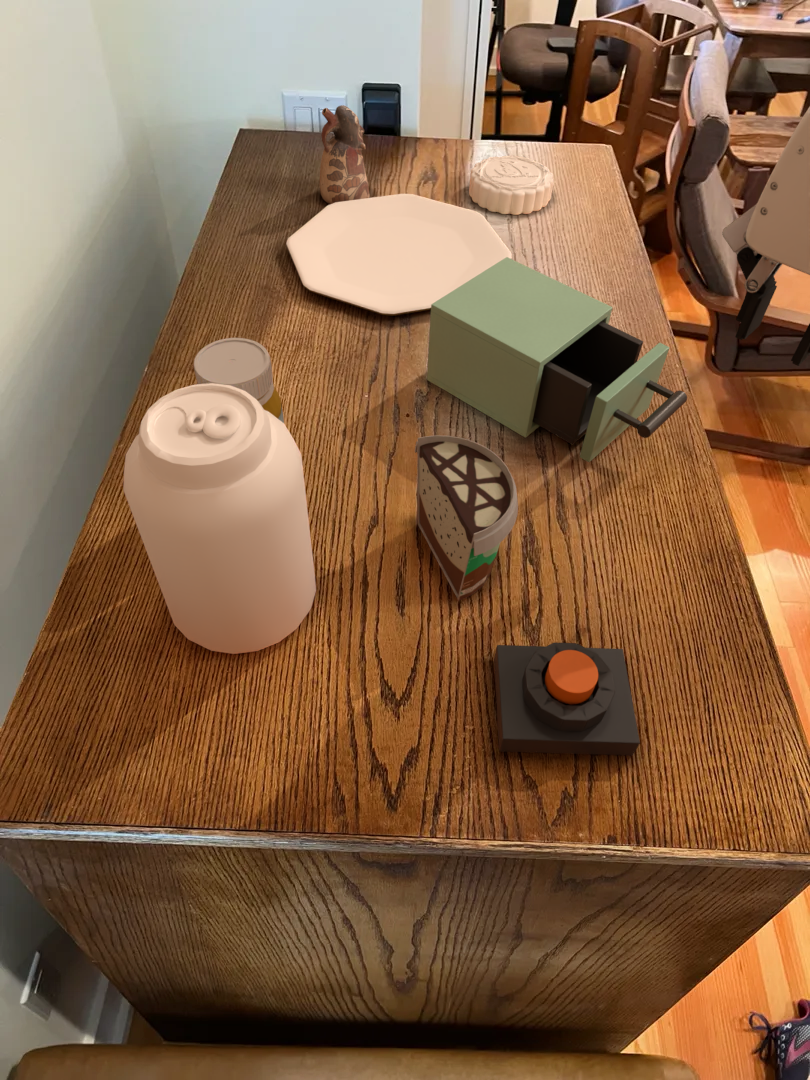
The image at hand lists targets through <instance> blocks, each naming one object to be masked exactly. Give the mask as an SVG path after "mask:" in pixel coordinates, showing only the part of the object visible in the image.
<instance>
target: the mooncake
mask: <svg viewBox="0 0 810 1080" xmlns="http://www.w3.org/2000/svg"><path fill="white" fill-rule="evenodd" d="M554 182H555V181H554V174H553V172H551V171H550V169H549V167H547V166H545V164H542V163H541V162H539V161H534V160H533V159H531V158H528V157H526V156H517V155H515V154H511V155H501V156H489V157H488V158H484V159H482V160H481V161H479V162H476V163H475V164H474V166H473V167H472V168H471V169H470V175H469V184H468V185H469V186H468V195H469V196H470V198H471V200H472V201H473V203H475V204H478V206H479V207H480V208H483V209H487V210H488V211H489V212H492V213H496V212H497V213H499V214H501V215H508V214H511V215H513V216H518V215H520V214H525V215H529V214H531V213H533V212H538V211H540V210H541V209H542V208H545V207H547V206H548V205H549V204H548V203H549V202H550V201H551V199H552V193H553V187H554Z"/></svg>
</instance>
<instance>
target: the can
mask: <svg viewBox="0 0 810 1080" xmlns="http://www.w3.org/2000/svg"><path fill="white" fill-rule="evenodd" d="M140 421H141V422H140V425H139V428H138V429H139V430H138V434H136V436H135V437H134V439H133V440H132V443H131V444H130V446H129V448H128V449H127V452H126V453H125V457H124V458H125V459H124V468H123V493H124V496H125V498H126V501H127V503H128V507H129V509H130V512H131V514H132V516H133V519H134V522H135V525H136V527H137V530H138V533H139V535H140V539H141V541H142V544H143V545H144V549H145V551H146V553H147V554H146V555H147V557H148V559H149V562H150V564H151V567H152V569H153V572H154V575H155V578H156V580H157V583H158V586H159V588H160V591H161V594H162V596H163V599H164V601H165V604H166V607H167V609H168V612H169V615H170V617H171V620H172V622H173V625H174V626H175V627H176V629H178V630H179V632H181V633H182V635H183V636H184V637H185V638H186V639H187V640H188V641H191V642H193V643H195V644H197V645H199V646H201V647H203V648H205V649H207V650H208V651H211V652H217V653H224V654H231V655H236V654H244V653H253V652H258V651H261V650H263V649H266V648H268V647H271V646H273V645H276V644H279V643H280V642H282V641H283V640H284V639H285V638H286V637H288V636H289V635H291V634H293V632H295V631H296V630H297V629H298V627H299V626H300V625H301V623H302V622H303V621H304V619H305V618H306V617H307V615H308V614H309V612H310V611H311V609H312V607H313V603H314V600H315V597H316V592H317V583H316V574H315V567H314V566H315V565H314V556H313V548H312V539H311V530H310V529H311V528H310V521H309V520H310V519H309V512H308V511H309V510H308V502H307V493H306V486H305V485H306V484H305V475H304V467H303V466H304V465H303V458H302V457H303V456H302V453H301V450H300V449H299V447H298V445H297V443H296V441H295V439H294V437H293V436H292V434H291V432H290V431H289V429H288V428H287V425H286V424H285V422H284V423H283V422H281V421H280V420H279V419H278V418H276V417H275V416H274V415H272V414H271V413H270V412H268V411H266V410H264V409H263V407H262V406H261V404H260V403H259V402H258V401H257V400H256V399H255V398H254V397H253V396H251V395H250V394H249V393H247V392H246V391H244V390H241V389H239V388H236V387H233V386H231V385H223V384H215V383H209V384H197V383H196V384H192V385H188V386H185V387H181V388H177V389H175V390H173V391H171V392H169V393H167V394H164V395H163V396H161V397H159V398H158V399H157V400H156V401H155V402H154V403H153V404H152V405H151V406H150V407H148V409H147V410H146V413H145V414H144V415H143V417H142V420H140Z"/></svg>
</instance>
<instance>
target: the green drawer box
mask: <svg viewBox="0 0 810 1080" xmlns="http://www.w3.org/2000/svg"><path fill="white" fill-rule="evenodd" d="M612 311H613V306H612V305H609V304H607V303H605V302H603V301H601V300H598V299H596V298H594V297H593V296H590V295H588V294H587V293H584V292H582V291H580V290H578V289H575V288H573V287H571V286H569V285H567V284H566V283H563V282H561V281H559V280H557V279H555V278H552V277H551V276H548V275H546V274H544V273H542V272H540V271H538V270H535V269H533V268H531V267H529V266H528V265H525V264H522V263H521V262H518V261H517V260H514V259H512V258H511V259H510V258H508V257H506V258H504V259H503V260H501V261H500V262H498V263H496V264H495V265H493V266H492V267H490V268H488V269H487V270H485V271H484V272H482V273H480V274H479V275H477V276H476V277H474V278H472V279H471V280H469V281H468V282H466V283H464V284H463V285H461V286H460V287H458V288H457V289H455V290H453V291H452V292H450V293H449V294H447V295H445V296H444V297H442V298H441V299H439V300H437V301H436V302H434V303H433V304H431V309H430V316H429V318H430V319H429V332H428V333H429V335H428V353H427V369H426V370H427V372H426V381H428V382H430V383H431V384H433V385H435V386H437V387H438V388H440V389H442V390H443V391H446V392H447V393H449V394H451V395H452V396H454V397H455V398H457V399H458V400H460V401H461V402H464V403H465V404H467V405H469V406H470V407H472V408H474V409H476V410H477V411H478V412H480V413H483V414H484V415H485V416H487V417H489V418H490V419H492V420H495V422H498V423H499V424H501V425H503V426H504V427H506V428H508V429H509V430H511V431H513V432H515V433H517V434H518V435H520V436H521V437H523V438H524V439H526V438H528V436H530V435H531V434H532V433H533V432H534V431H536V430H537V429H538V428H539V427H540V426H539V425H537V424H536V423H534V422H532V421H533V417H534V412H535V407H536V402H537V397H538V392H539V387H540V382H541V377H542V372H543V367H544V365H545V364H546V363H548V362H549V361H550V360H551V359H553V358H554V357H555V356H557V355H558V354H559V353H561V352H562V351H563V350H564V349H566V348H567V347H568V346H570V345H571V344H572V343H574V342H575V341H576V340H577V339H579V338H580V337H581V336H583V335H584V334H585V333H587V332H588V331H589V330H590V329H592V328H593V327H594V326H596V325H597V324H598V323H600V322H601V321H603V322H605V323H607V324H610V319H611V316H612Z"/></svg>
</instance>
